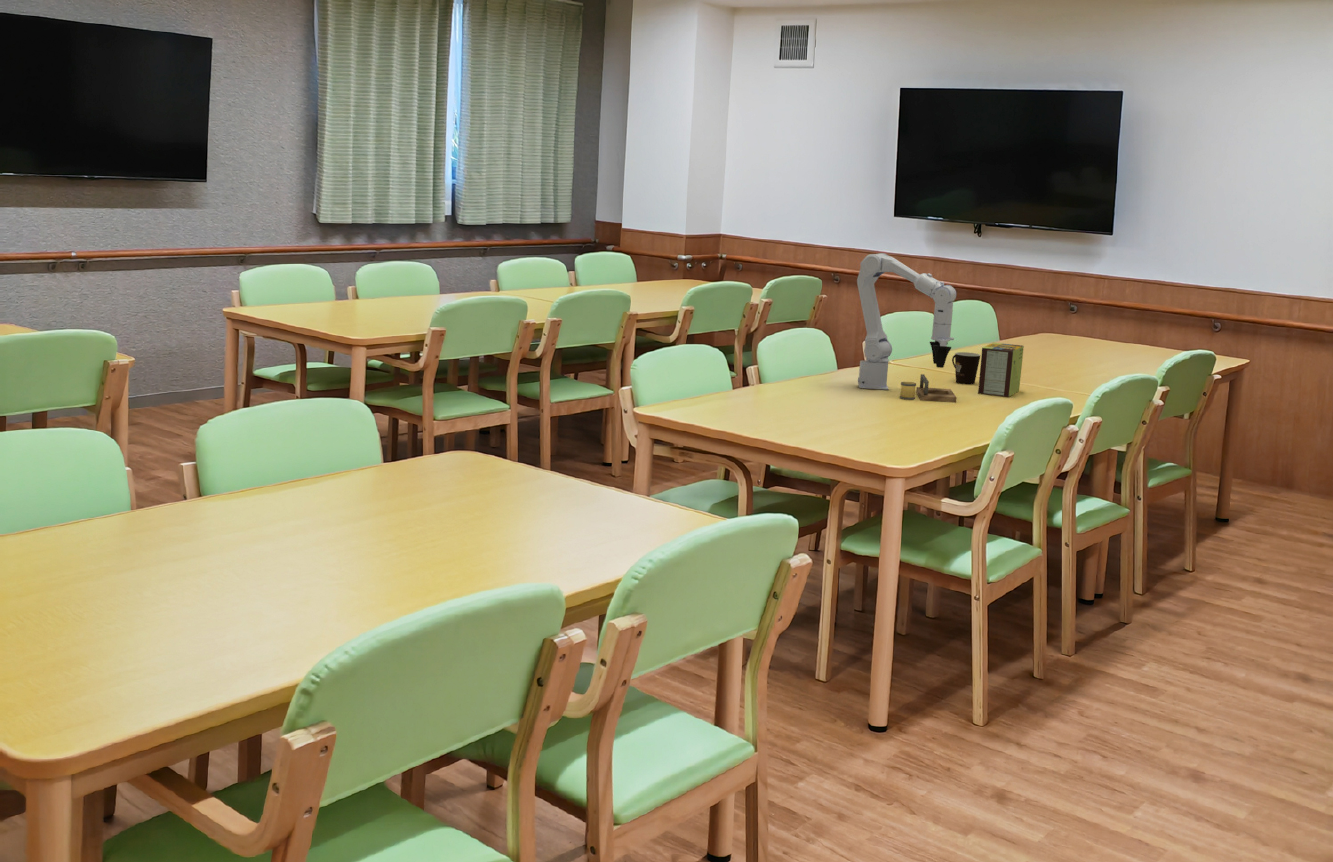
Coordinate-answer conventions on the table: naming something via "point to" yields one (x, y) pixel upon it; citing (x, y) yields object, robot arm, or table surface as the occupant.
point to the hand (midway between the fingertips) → (938, 365)
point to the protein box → (1000, 369)
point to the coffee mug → (966, 367)
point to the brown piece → (934, 392)
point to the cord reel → (908, 390)
